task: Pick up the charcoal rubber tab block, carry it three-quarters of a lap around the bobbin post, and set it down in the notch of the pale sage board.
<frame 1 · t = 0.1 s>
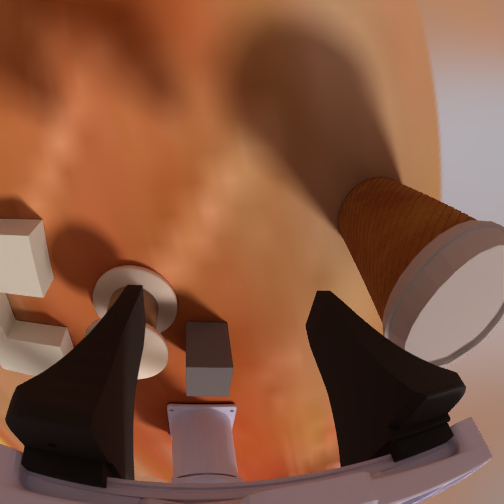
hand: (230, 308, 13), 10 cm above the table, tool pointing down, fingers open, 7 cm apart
tab block: (205, 337, 27), on the table
disposable coffee cup: (373, 213, 23), on the table
notch board: (19, 299, 22), on the table
bobbin post: (134, 301, 24), on the table
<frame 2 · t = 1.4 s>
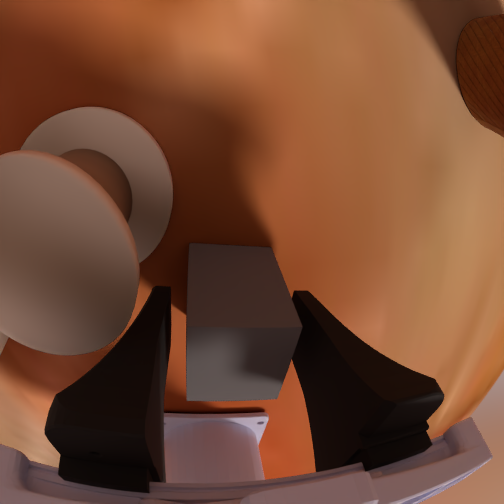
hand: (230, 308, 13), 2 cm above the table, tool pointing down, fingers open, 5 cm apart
tab block: (226, 283, 14), on the table
disposable coffee cup: (491, 73, 11), on the table
bobbin post: (88, 194, 11), on the table
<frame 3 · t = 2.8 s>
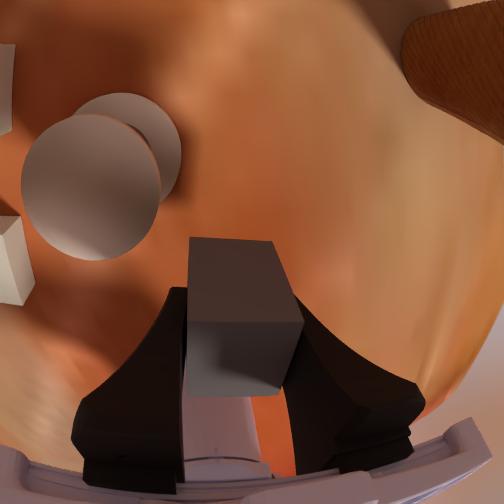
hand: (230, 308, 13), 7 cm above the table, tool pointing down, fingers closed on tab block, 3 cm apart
tab block: (226, 278, 14), point 5 cm above the table, touching gripper
disposable coffee cup: (437, 61, 15), on the table
bobbin post: (118, 156, 15), on the table
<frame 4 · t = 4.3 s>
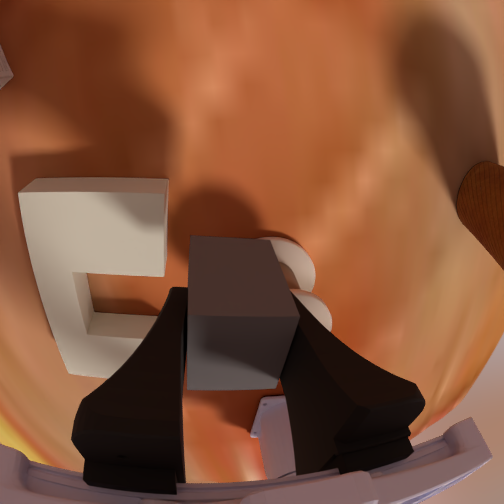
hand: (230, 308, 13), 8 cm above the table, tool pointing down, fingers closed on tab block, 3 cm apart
tab block: (226, 275, 15), point 6 cm above the table, touching gripper
disposable coffee cup: (478, 193, 22), on the table
notch board: (107, 284, 21), on the table
bobbin post: (266, 279, 23), on the table
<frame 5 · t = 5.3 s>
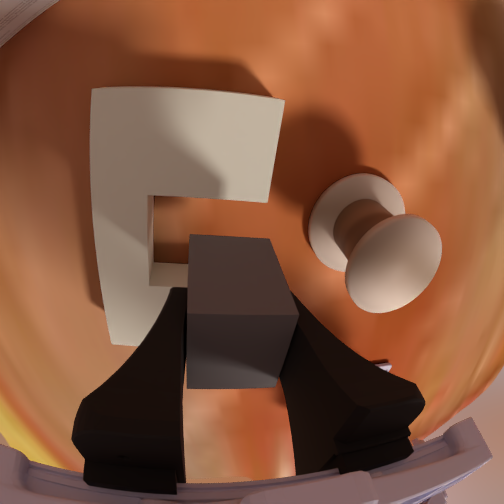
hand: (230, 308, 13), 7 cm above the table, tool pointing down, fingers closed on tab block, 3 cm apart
tab block: (225, 274, 15), point 5 cm above the table, touching gripper
notch board: (178, 224, 19), on the table
bobbin post: (357, 223, 20), on the table
when the fingers open (3 cm above the table, at t = 6.3 s): tab block drops 1 cm, on the table.
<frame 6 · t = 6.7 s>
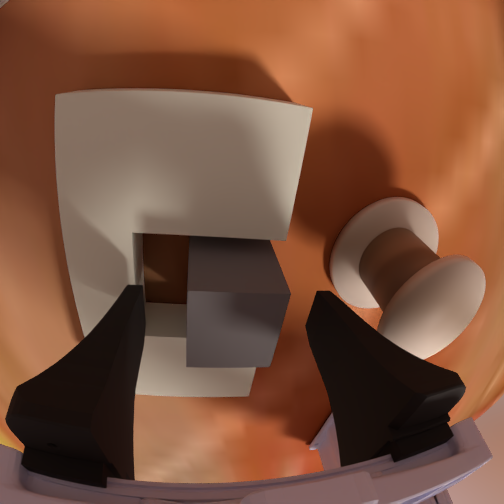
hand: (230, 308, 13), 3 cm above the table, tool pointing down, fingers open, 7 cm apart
tab block: (223, 261, 16), on the table
notch board: (173, 260, 15), on the table
bobbin post: (385, 253, 17), on the table
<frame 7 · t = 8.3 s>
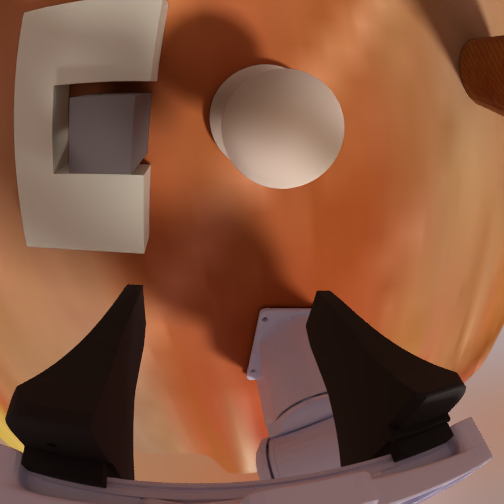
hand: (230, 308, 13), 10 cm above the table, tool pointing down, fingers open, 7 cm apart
tab block: (123, 122, 18), on the table
disposable coffee cup: (480, 72, 18), on the table
notch board: (87, 123, 17), on the table
bobbin post: (264, 117, 19), on the table
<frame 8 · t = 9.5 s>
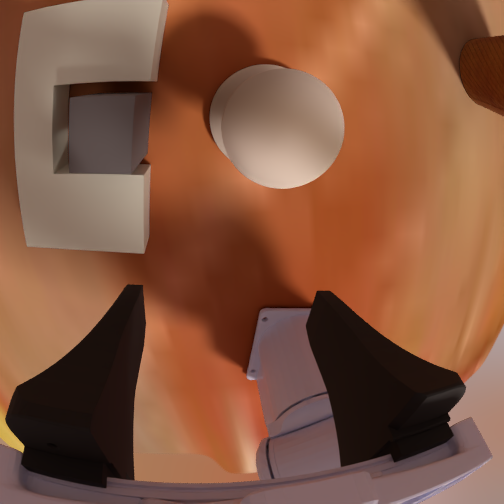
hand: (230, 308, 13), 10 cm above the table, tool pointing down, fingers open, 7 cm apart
tab block: (123, 122, 18), on the table
disposable coffee cup: (480, 72, 18), on the table
notch board: (87, 123, 17), on the table
bobbin post: (264, 117, 19), on the table
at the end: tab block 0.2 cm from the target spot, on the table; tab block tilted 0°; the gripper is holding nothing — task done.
